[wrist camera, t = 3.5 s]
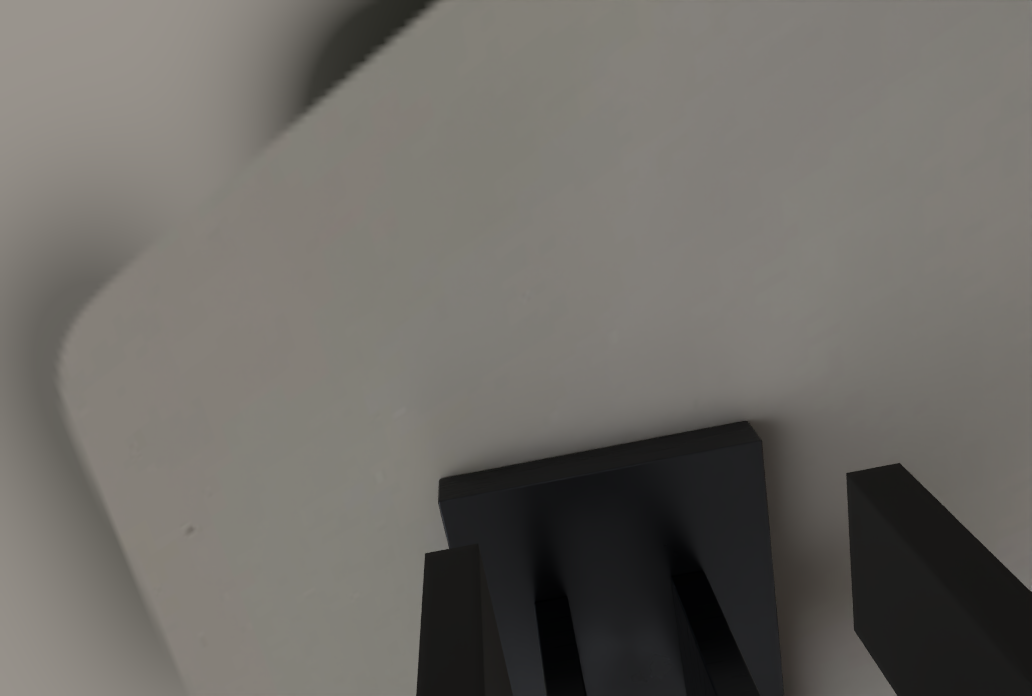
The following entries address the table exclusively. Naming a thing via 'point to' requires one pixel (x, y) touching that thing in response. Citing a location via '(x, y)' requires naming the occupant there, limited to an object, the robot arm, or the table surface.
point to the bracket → (629, 567)
